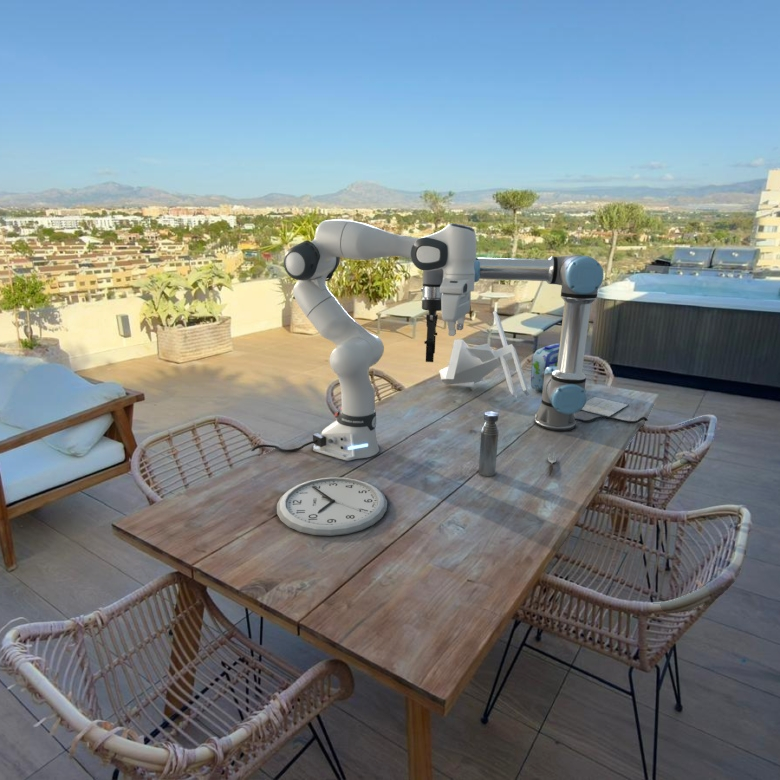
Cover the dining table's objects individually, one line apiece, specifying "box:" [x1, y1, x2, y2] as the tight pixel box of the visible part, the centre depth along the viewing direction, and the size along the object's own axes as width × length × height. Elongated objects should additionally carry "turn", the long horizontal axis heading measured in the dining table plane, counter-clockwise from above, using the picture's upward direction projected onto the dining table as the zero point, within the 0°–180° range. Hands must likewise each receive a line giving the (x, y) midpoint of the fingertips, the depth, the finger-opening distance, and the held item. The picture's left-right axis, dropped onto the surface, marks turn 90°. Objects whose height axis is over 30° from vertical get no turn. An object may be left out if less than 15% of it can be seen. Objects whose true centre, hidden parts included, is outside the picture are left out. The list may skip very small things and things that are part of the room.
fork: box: [547, 451, 558, 477], centre depth 168 cm, size 3×16×2 cm, turn 160°
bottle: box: [477, 420, 499, 477], centre depth 161 cm, size 5×5×19 cm
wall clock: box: [276, 476, 388, 537], centre depth 142 cm, size 30×2×30 cm
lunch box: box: [530, 343, 560, 391], centre depth 249 cm, size 26×11×21 cm, turn 134°
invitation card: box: [580, 396, 629, 417], centre depth 226 cm, size 21×1×15 cm
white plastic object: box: [438, 310, 531, 400], centre depth 245 cm, size 37×45×31 cm
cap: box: [483, 411, 499, 422], centre depth 158 cm, size 4×4×2 cm
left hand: (456, 332), depth 152 cm, fingers open, 8 cm apart
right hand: (430, 357), depth 190 cm, fingers open, 13 cm apart
